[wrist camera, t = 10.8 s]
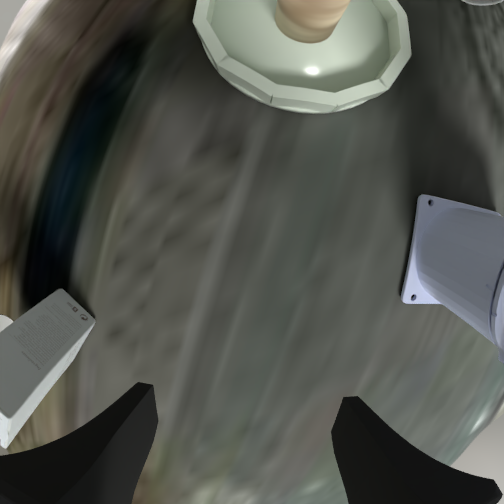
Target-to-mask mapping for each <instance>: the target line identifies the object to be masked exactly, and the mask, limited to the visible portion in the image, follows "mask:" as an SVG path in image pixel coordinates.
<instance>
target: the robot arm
mask: <svg viewBox="0 0 504 504" xmlns="http://www.w3.org/2000/svg"><path fill="white" fill-rule="evenodd" d="M429 200H430V201H431V204H430V205H428V201H429ZM413 294H414V297H413V298H412V299H411V296H412V295H413ZM401 300H402V301H403V302H404V303H407V304H443V305H444V306H445V307H447V308H448V309H450V310H451V311H452V312H454V313H455V314H456V315H458V316H459V317H460V318H462V319H463V320H464V321H466V322H467V323H468V324H470V325H471V326H472V327H473V328H475V329H476V330H477V331H479V332H480V333H481V334H482V335H484V336H485V337H486V338H488V339H489V340H490V341H491V342H493V343H494V344H495V345H496V346H497V347H498V349H499V356H498V359H499V360H500V361H501V362H502V363H503V364H504V217H503V216H501V215H500V213H498V212H495V211H491V210H487V209H484V208H480V207H476V206H472V205H468V204H464V203H460V202H456V201H452V200H448V199H444V198H439V197H435V196H430V195H425V194H422V195H420V196H419V197H418V201H417V209H416V217H415V224H414V231H413V237H412V243H411V249H410V255H409V260H408V265H407V270H406V275H405V280H404V284H403V289H402V293H401ZM157 424H158V415H157V409H156V402H155V395H154V387H153V385H151V384H146V383H140V382H138V383H136V384H135V385H134V386H133V387H132V388H130V389H129V390H128V391H127V392H126V393H125V394H124V395H122V396H121V397H120V398H119V399H118V400H117V401H115V402H114V403H113V404H112V405H111V406H109V407H108V408H107V409H106V410H104V411H103V412H102V413H100V414H99V415H98V416H96V417H95V418H93V419H92V420H91V421H89V422H88V423H86V424H85V425H83V426H82V427H80V428H78V429H77V430H75V431H73V432H71V433H70V434H68V435H66V436H64V437H62V438H60V439H57V440H55V441H53V442H50V443H48V444H46V445H43V446H40V447H37V448H34V449H31V450H27V451H24V452H19V453H15V454H9V455H3V456H0V504H131V503H132V499H133V495H134V491H135V488H136V485H137V482H138V479H139V477H140V474H141V472H142V469H143V467H144V464H145V462H146V459H147V457H148V454H149V452H150V449H151V446H152V444H153V441H154V437H155V433H156V429H157ZM331 434H332V442H333V448H334V454H335V457H336V460H337V464H338V467H339V471H340V474H341V477H342V480H343V484H344V487H345V490H346V494H347V498H348V502H349V504H497V503H498V502H499V500H500V499H501V497H502V495H503V494H502V492H501V491H500V489H499V487H498V486H497V484H496V483H495V481H494V480H492V479H487V478H483V477H479V476H474V475H471V474H468V473H465V472H462V471H459V470H456V469H454V468H451V467H449V466H447V465H445V464H443V463H441V462H439V461H437V460H435V459H433V458H431V457H430V456H428V455H426V454H425V453H423V452H422V451H420V450H419V449H417V448H416V447H414V446H413V445H411V444H410V443H409V442H407V441H406V440H405V439H404V438H402V437H401V436H400V435H399V434H397V433H396V432H395V431H394V430H393V429H392V428H391V427H389V426H388V425H387V424H386V423H385V422H384V421H383V420H382V419H381V418H380V417H379V416H378V415H377V414H376V413H375V412H374V411H373V410H372V409H371V408H369V407H368V406H367V405H366V404H365V403H364V402H363V401H362V400H361V399H360V398H359V397H358V396H354V397H343V400H342V403H341V406H340V409H339V412H338V414H337V417H336V420H335V423H334V425H333V428H332V430H331Z"/></svg>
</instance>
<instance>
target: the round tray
mask: <svg viewBox="0 0 504 504" xmlns="http://www.w3.org/2000/svg"><path fill="white" fill-rule="evenodd" d="M276 6H277V0H197V3H196V8H195V13H194V17H193V24H194V26H195V29H196V31H197V34H198V36H199V38H200V40H201V41H202V45H203V47H204V50H205V52H206V54H207V56H208V59H209V60H210V62H211V63H212V65H213V66H214V68H215V69H216V70H217V72H218V73H219V74H220V75H221V76H222V77H223V78H224V79H225V80H226V81H227V82H228V83H229V84H231V85H232V86H233V87H234V88H236V89H237V90H239V91H240V92H242V93H243V94H245V95H246V96H248V97H250V98H252V99H254V100H256V101H258V102H260V103H263V104H265V105H268V106H270V107H274V108H277V109H281V110H284V111H290V112H295V113H304V114H328V113H334V112H340V111H344V110H348V109H351V108H353V107H356V106H358V105H360V104H363V103H364V102H366V101H367V100H369V99H372V98H375V97H377V96H379V95H381V94H382V93H384V92H385V91H387V90H388V89H389V88H390V87H391V85H392V84H393V82H394V81H395V79H396V78H397V76H398V75H399V73H400V72H401V70H402V69H403V67H404V66H405V64H406V63H407V61H408V60H409V58H410V57H411V55H412V54H411V44H410V35H409V27H408V20H407V15H406V13H405V11H404V10H403V8H402V7H401V6H400V4H399V3H398V1H397V0H351V1H350V3H349V5H348V6H347V8H346V10H345V12H344V13H343V15H342V17H341V19H340V20H339V22H338V24H337V25H336V27H335V29H334V31H333V33H332V34H331V36H330V37H329V38H328V39H326V40H324V41H322V42H319V43H312V44H308V43H301V42H297V41H294V40H292V39H290V38H288V37H287V36H285V35H284V34H283V33H282V32H281V31H280V30H279V28H278V27H277V25H276V22H275V13H276Z"/></svg>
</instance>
